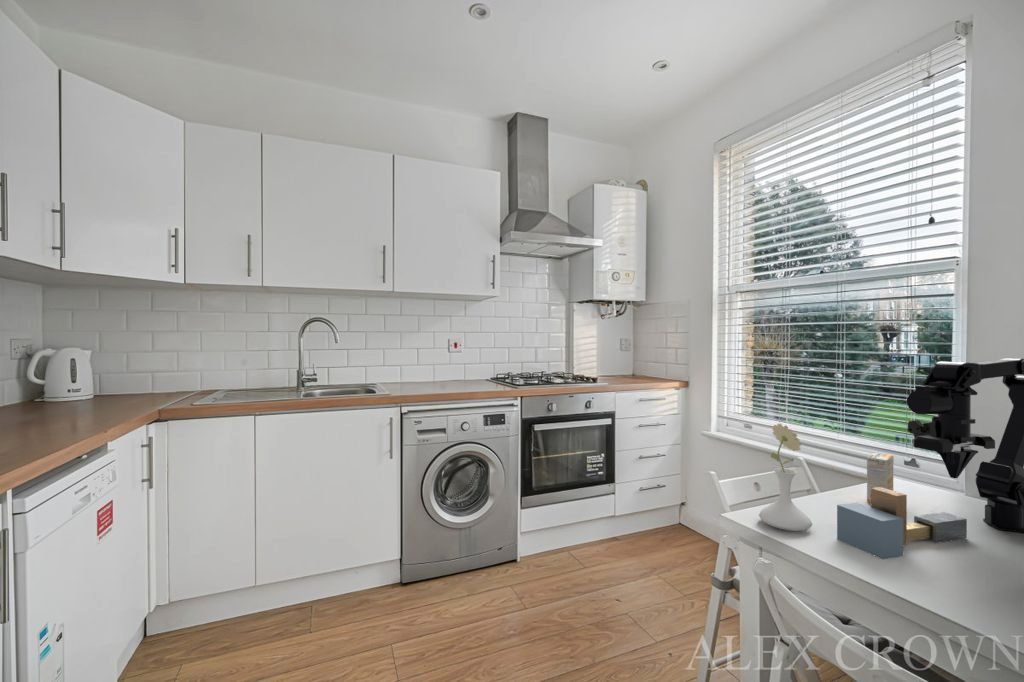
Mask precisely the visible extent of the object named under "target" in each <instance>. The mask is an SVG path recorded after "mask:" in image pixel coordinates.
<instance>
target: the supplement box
mask: <svg viewBox="0 0 1024 682" xmlns="http://www.w3.org/2000/svg"><path fill="white" fill-rule="evenodd" d="M877 487H882V488H885V489H889V490H892V491H894V455H893V454H888V453H887V454H886V453H880V452H873V453H872V454H870V455H868V456H867V457H866V502H867V503H871V488H877Z"/></svg>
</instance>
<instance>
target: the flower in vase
mask: <svg viewBox="0 0 1024 682" xmlns="http://www.w3.org/2000/svg"><path fill="white" fill-rule="evenodd" d="M771 427H772V431H773V432H772V434H773V435H774V436H775V438H776V439H777V440H778V441H779V445H778V449H777V454H776V453H775V452H774V451H772V453H771V455H770V458H771V459H773V460H775V461H777V462H779V464H780V467H775V468H773V471H774V472H775V475H776V476H777V478H778V482H779V483H778V484H779V496H778V499H777V500H776V501H774V502H773V503H770V504H769V505H767V506H765V507H764V508H762V509H761V510H760V512H759V513H758V517H759V518H760V520H761V521H762V522H764V523H765V524H768V526H769V525H770V526H771V527H774V528H777V529H781V530H784V531H792V532H793V531H794V532H797V531H798V532H800V531H801V532H802V531H806V530H809V529H810V528H811V527H812V526H813V522H812V520H811V518H810V517H809V516H808V515H807V514H806V513H805V512H804V511H803V510H802V509H800V507H798V506H797V505H796V504H795V503H794V502H793V500H792V497H791V486H792V481H793V479H794V477H795V476H796V474H797V473H798V471H796V470H794V469H790V468H785V467H784V465H786V464H788V463H790V462H792V461H794V460H795V459H794V458H793V459H791V460H788V461H786V460H785V461H784V462H783V463H782V460H781V458H780V450H781V447H782V446H783V447H785V448H787V449H788V450H791V451H794V452H796V451H797V452H798V451H801V446H802V444H801V442H800V439H799V438H798V434H797V433H796V432H793V430H792V429H790V428H789V426H787V425H786V424H785V425H784V426H783V424H782V423H776V424H774V425H772V426H771Z"/></svg>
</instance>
